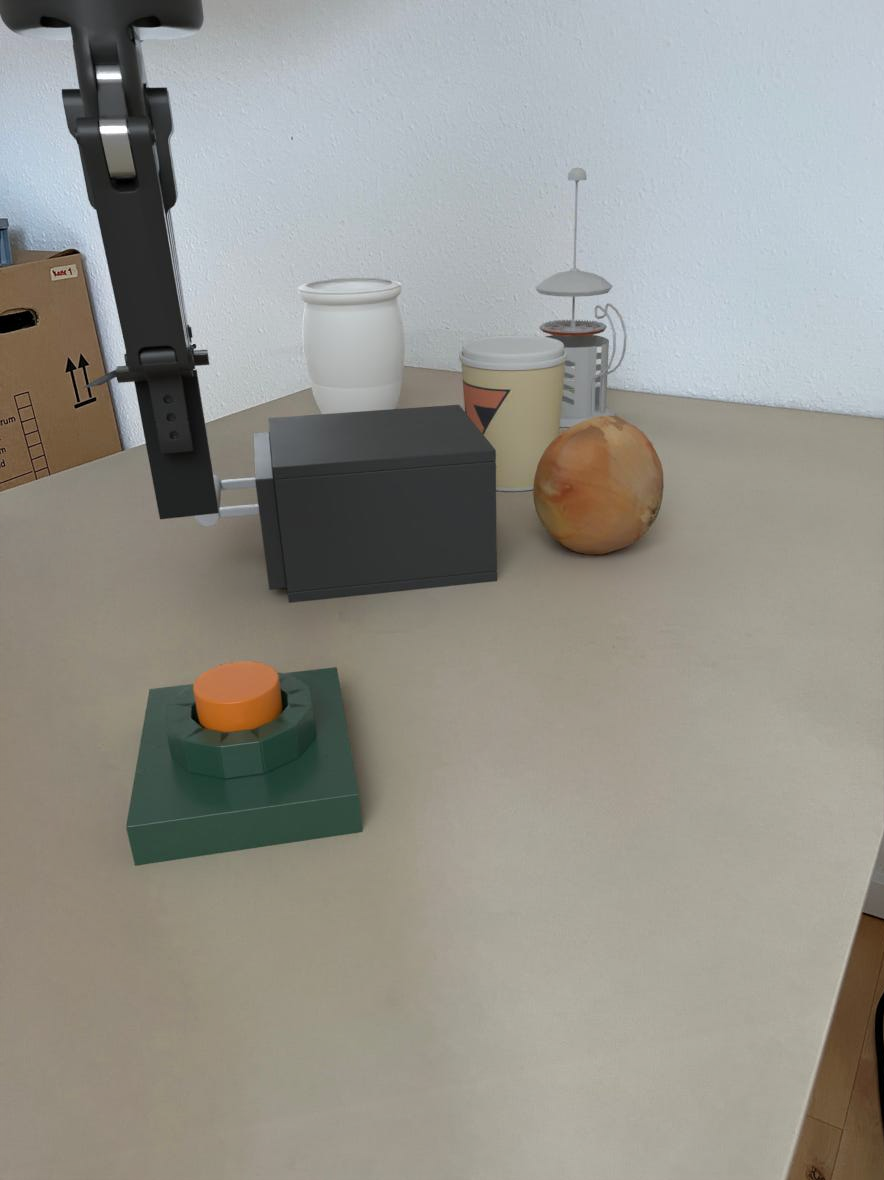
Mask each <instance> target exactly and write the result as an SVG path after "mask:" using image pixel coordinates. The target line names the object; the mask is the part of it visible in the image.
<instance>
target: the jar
mask: <svg viewBox="0 0 884 1180" xmlns="http://www.w3.org/2000/svg"><path fill="white" fill-rule="evenodd" d="M401 285H402V283H401V282H399V281H397V280H393V279H387V278H380V277H379V278H378V277H344V278H343V277H342V278H331V279H321V280H316V281H311V282H306V283H303V284H300V285H298V286H297V287H296V288H297V295H298V297H299V299H300V300H302V301H303V304H304V305H303V311H302V320H301V321H302V322H301V342H302V343H301V344H302V351H303V358H304V363H305V367H306V371H307V374H308V377H309V381H310V388H311V392H312V394H313V395H312V396H313V398H314V401H315V402H316V405H317V407H318V409H319V411H320V414H333V413H347V412H361V411H375V410H390V409H397V407H398V404H399V401H400V398H401V393H402V387H403V374H404V366H405V351H406V349H405V348H406V346H405V332H404V325H403V320H402V315H401V310H400V308H399V305H398V301H397V298H398V297H399V296H400V295H401V293H402V286H401Z"/></svg>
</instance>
